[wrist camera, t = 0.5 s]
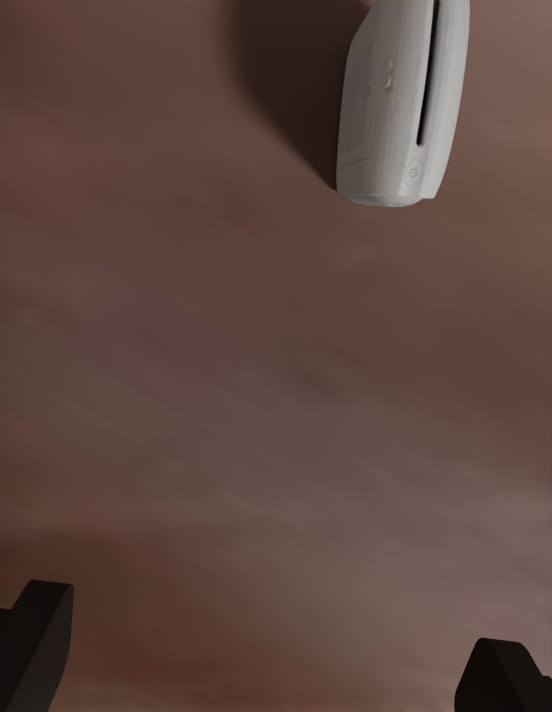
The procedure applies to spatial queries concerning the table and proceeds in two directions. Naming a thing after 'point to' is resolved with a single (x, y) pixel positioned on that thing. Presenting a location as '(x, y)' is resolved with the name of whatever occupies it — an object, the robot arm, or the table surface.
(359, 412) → the table surface
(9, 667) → the robot arm
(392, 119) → the photo printer
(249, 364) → the table surface
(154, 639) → the table surface
